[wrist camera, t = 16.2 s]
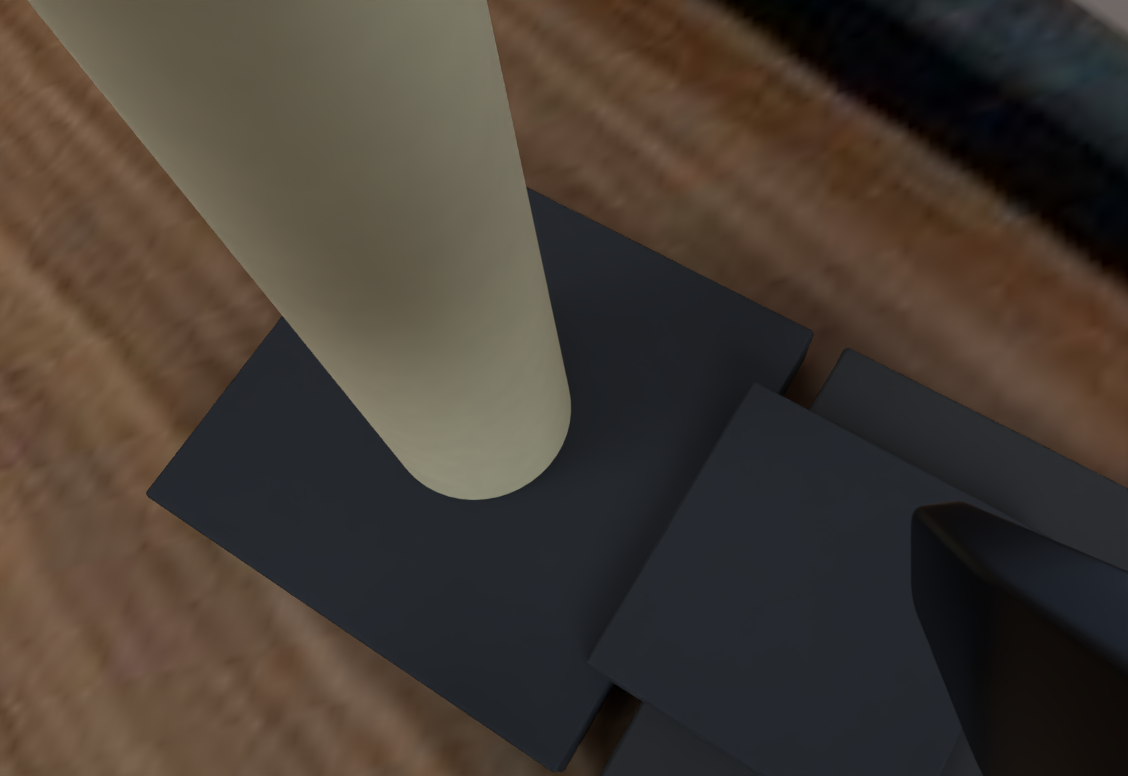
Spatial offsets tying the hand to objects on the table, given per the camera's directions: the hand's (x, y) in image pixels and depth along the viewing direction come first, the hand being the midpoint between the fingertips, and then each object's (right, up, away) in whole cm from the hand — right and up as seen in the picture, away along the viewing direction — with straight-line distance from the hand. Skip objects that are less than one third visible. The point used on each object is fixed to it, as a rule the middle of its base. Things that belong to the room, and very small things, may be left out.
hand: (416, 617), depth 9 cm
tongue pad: (+2, 0, +8) cm, 8 cm away
